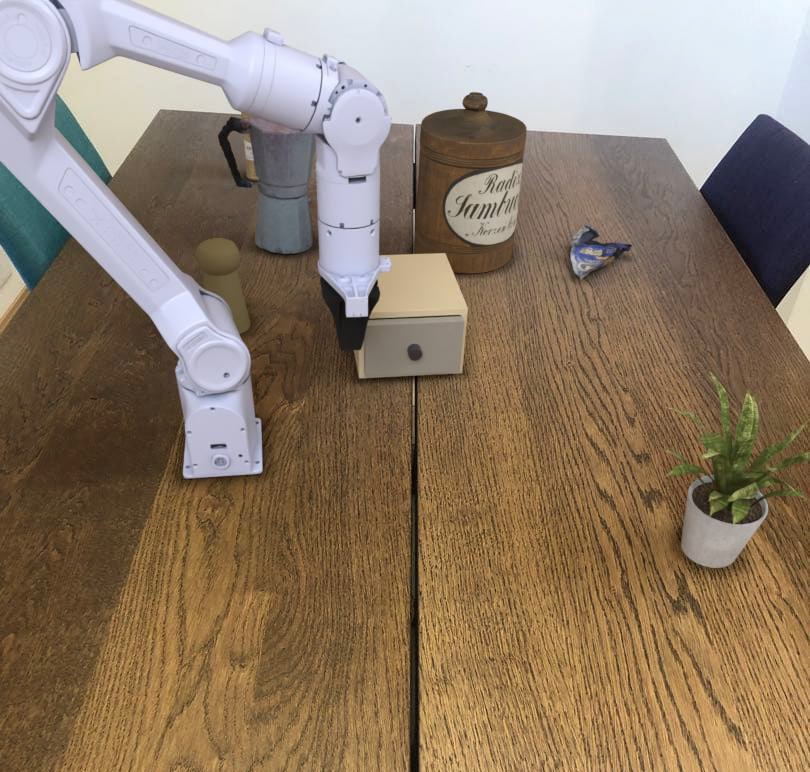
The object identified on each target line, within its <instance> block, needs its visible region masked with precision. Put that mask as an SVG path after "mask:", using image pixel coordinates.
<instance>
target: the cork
mask: <svg viewBox="0 0 810 772" xmlns="http://www.w3.org/2000/svg"><path fill="white" fill-rule="evenodd" d="M195 256H196V262H197V264H198V267H199V268H200V269H201V271H202V288H203V289H205V290H207V291H209V292H212V293H214V294H216V295H218V296H220V297H221V298H222V299H223V300H225V302H226V303H227V304H228V306H229V308H230V310H231V313H232V317H233V321H234V323H235V325H236V328H237V330H238V332H239V334H240V335H241V334H244V333H245V332H247V331H248V330H249V329H250V328H251V323H252V322H251V319H250V316H249V312H248V308H247V304H246V300H245V296H244V292H243V288H242V284H241V280H240V276H239V272H238V269H237V268H238V267H239V265H240V262H241V261H240V260H241V255H240V250H239V248H238V246H237V245H236V243H235V242H234V241H232V240H230V239H227V238H224V237H213V238H208V239H205V240H203V241H202V242H200V243H199V244H198V247H197V248H196V251H195Z"/></svg>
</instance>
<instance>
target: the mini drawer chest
mask: <svg viewBox="0 0 810 772" xmlns="http://www.w3.org/2000/svg"><path fill="white" fill-rule="evenodd" d="M379 257H389V258H390V261H391V271H389V272H382V273H380V274H379V276H378V278H377V280H378V285H377V286H379V290H380V298H379V301H378V302H377V304H376V305H375V307H374V309H373V310H372V312H371V315H370V317H369V319H373V318H397V317H420V316H444V315H454V316H462V317H463V319H464V330H463V341H462V353H461V364H460V372H454V373H435V374H416V375H396V376H377V377H365V374H364V342H363V345H362V348H361V350H353V353H354V360H355V364H356V370H357V375H358V379H374V378H375V379H377V378H395V377H396V378H397V377H398V378H399V377H414V376H415V377H416V376H436V375H453V374H454V375H455V374H463V367H464V358H465V357H464V356H465V346H466V345H465V344H466V334H467V324H468V313H469V308H468V305H467V302H466V300H465V298H464V295H463V292H462V291H461V290H462V289H461V288H460V285H459V283H458V281H457V277H456V276H455V273H454V272H453V271H452V268H451V266H450V263H449V261H448V258H447V256H446V254H445V253H435V254H415V253H409V254H379Z"/></svg>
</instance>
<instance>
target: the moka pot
mask: <svg viewBox="0 0 810 772" xmlns="http://www.w3.org/2000/svg"><path fill="white" fill-rule="evenodd" d="M232 132H236V133H238V134H241V135H243V134H249V135H250V140H251V146H252V152H253V158H254V165H255V172H256V176H257V177H258V178H259V179H258V181H257V183H256V185H257V188H258V190H259V193H258V199H257V212H256V213H257V214H256V223H255V234H254V244H255V245H256V246H257V247H258V248H260V249H262V250H265V251H267V252H269V253H274V254H280V255H284V254H285V255H291V254H299V253H304V252H306V251H308V250H310V249H311V248H312V247H313V245H314V243H313V242H314V237H313V227H312V226H313V225H312V218H311V209H310V205H311V204H312V199H311V197H310V196H309V193H308V192H309V186H310V179H311V176H312V169H313V168H312V167H313V162H314V161H313V160H314V157H315V155H316V137H315V134H316V133H312V134H304V133H301V132H299V131H295V130H292V129H290V128H287V127H284V126H281V125H278V124H275V123H272V122H269V121H266V120H263V119H260V118H257V117H254V116H253V117H252V118H242V117H241V118H239V117H235V116H230V117H229V119H228V120H226V122H225V124H224V125H223V126H222V127H221V130H220V131H219V132H218V135H217V138H218V143H219V146H220V147H221V150H222V152H223V155H224V158H225V159H226V161H227V166H228V168H229V169H230V173H231V176H232V178H233V180H234V182H235V185H236V187H239V188H246V189H248V188H252V185H253V184H254V181H253V180H251V179H247V180H246V179H243V178H242V175H241V172H240V170H239V169H238V164H237V159H236V157H235V155H234V152H233V150H232V146H231V142H230V141H229V139H228V138H229V136H230V134H231V133H232Z"/></svg>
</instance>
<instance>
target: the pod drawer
mask: <svg viewBox="0 0 810 772" xmlns="http://www.w3.org/2000/svg"><path fill="white" fill-rule="evenodd" d="M463 330H464V319H463V317H462V316H454V315H444V316H425V318H404V319H393V318H373V319H369V320H368V324H367V328H366V333H365V337H364V374H365V377H377V376H396V375H416V374H435V373H454V372H460V364H461V353H462V341H463Z"/></svg>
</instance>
